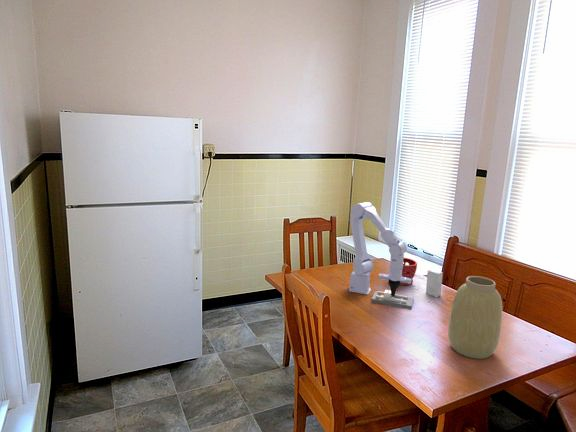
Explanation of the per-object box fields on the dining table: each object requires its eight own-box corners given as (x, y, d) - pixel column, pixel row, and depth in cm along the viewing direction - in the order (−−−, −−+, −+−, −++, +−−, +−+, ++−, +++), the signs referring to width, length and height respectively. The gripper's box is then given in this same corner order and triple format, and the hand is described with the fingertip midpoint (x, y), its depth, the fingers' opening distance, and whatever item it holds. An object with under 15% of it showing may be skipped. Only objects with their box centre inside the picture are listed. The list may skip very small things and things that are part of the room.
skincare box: (441, 295, 201) (443, 272, 199) (436, 297, 198) (438, 273, 196) (429, 291, 206) (432, 268, 203) (424, 293, 203) (427, 270, 201)
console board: (371, 301, 191) (371, 296, 190) (375, 294, 200) (375, 289, 199) (411, 309, 184) (411, 304, 184) (413, 301, 193) (414, 296, 193)
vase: (503, 350, 152) (515, 282, 146) (485, 368, 140) (496, 294, 134) (458, 333, 164) (467, 269, 158) (437, 347, 152) (446, 279, 146)
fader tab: (383, 297, 191) (384, 292, 191) (385, 294, 195) (385, 289, 194) (390, 298, 190) (390, 293, 190) (391, 295, 194) (391, 290, 193)
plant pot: (389, 285, 212) (391, 263, 210) (389, 276, 225) (391, 255, 222) (415, 288, 209) (418, 266, 207) (413, 279, 222) (416, 258, 219)
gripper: (378, 267, 187) (376, 295, 190) (411, 273, 182) (408, 301, 185) (381, 263, 194) (378, 290, 197) (413, 268, 189) (409, 295, 191)
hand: (393, 295), depth 191 cm, fingers closed
